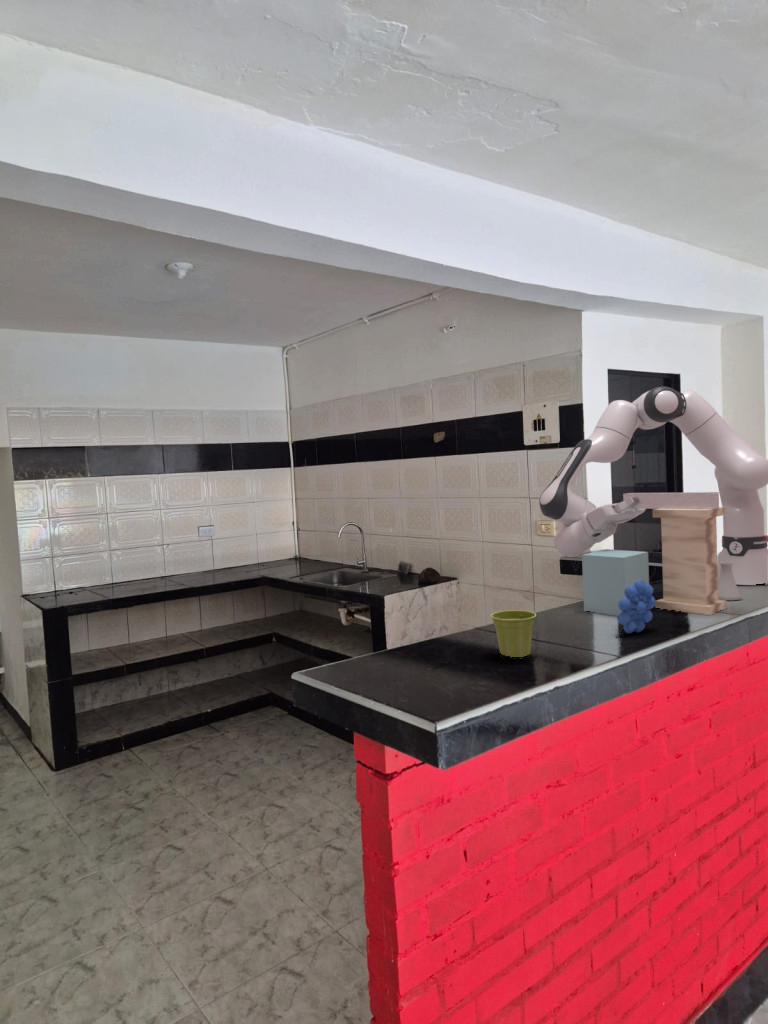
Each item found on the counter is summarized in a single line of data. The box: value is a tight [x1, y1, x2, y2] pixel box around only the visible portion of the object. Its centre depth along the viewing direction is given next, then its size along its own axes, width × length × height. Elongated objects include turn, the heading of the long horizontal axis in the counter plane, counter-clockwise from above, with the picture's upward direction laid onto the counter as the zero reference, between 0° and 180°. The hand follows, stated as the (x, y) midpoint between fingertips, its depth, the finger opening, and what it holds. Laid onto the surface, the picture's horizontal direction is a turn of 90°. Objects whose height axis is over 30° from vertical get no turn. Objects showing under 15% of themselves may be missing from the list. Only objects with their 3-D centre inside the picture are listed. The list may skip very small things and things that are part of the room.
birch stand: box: [652, 506, 728, 616], centre depth 176 cm, size 10×14×26 cm
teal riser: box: [581, 549, 650, 617], centre depth 179 cm, size 12×12×15 cm
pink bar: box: [622, 491, 720, 510], centre depth 179 cm, size 4×24×4 cm, turn 41°
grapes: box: [617, 580, 657, 634], centre depth 156 cm, size 12×7×12 cm, turn 120°
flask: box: [718, 562, 743, 601], centre depth 186 cm, size 7×7×10 cm
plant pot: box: [490, 609, 537, 658], centre depth 143 cm, size 9×9×9 cm
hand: (639, 498), depth 185 cm, fingers open, 5 cm apart
